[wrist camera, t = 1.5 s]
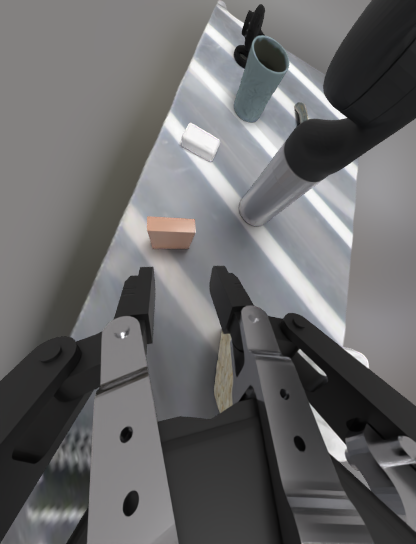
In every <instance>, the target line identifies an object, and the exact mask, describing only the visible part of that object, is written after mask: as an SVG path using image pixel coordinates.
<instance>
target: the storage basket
mask: <svg viewBox="0 0 416 544" xmlns="http://www.w3.org/2000/svg"><path fill="white" fill-rule="evenodd" d="M230 341H231V335H230V334H223V330H222V332H221V340H220V345H219V352H218V361H217V366H216V376H215V385H214V396H215V398H216V401H217V405H218V409H219V411H220V413H221V412H223V411H224V410H226V409H227V408H229V407H230V406H232V405H233V403H232V387H233V371H232V360H231V349H230ZM342 348H343V349H344V350H346V351H347V352H348V353H349V354H351V355H352V356H353V357H354V358H356V359H357V360H358V361H360V362H361V363H362V364H363V365H365V366H366V367H367V368H368V369H369V363H368V360H367V359H366V357H365V356H364V355H363V354H361V353H360V352H358V351H355V350H353V349H350V348H345V347H342ZM298 353H299V354H300V355H301V356H302V357H303V358H304V359H305V360H306V361H307V362H308V363H309V364H310V365H311V366H312V367H313V368H314V369H315V370H317V371H318V372H319V373H320V374H322V375H324V376H326V374H325V373H324V372H323V371H322V370H321V369H320V368H319V367H318V366H317V365H316V364H315V363H314V362H313V361H312V360H311V359H310V358H309V357H308V356H307V355H306V354H305V353H303V352H302V351H301V350H300V349H299V351H298ZM309 404H310V403H309ZM310 407H311V409H312V412H313V414H314V417H315V419H316V422H317V424H318V427H319V430H320V432H321V435H322V437H323V440H324V442H325V445H326V447H327V450H328V452H329V453H330V454H331V455H332V456H333V457H334V458H335V459H336V460H338V461H339V462H340V461H341V462H342V461H347V460H346V457H345V449H347V447H346V445H345V443H344V442H343V441H342V440H341V439H340V438H339V437H338V435H337V434H336V433H335V432H334V431H333V430H332V429H331V427H330V426H329V425H328V424H327V423H326V422H325V421H324V419H323V418H322V417H321V416H320V415H319V414H318V413H317V411H316V410H315V409H314V408H313V407H312V406H311V405H310Z"/></svg>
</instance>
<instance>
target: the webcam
mask: <svg viewBox="0 0 416 544" xmlns="http://www.w3.org/2000/svg"><path fill="white" fill-rule="evenodd" d="M264 13H265V8H264V6H263V5H262V4H260V5H259V6H258V7H257V8H256V10H255V12H251V11H250V10H249V12H248V14H247V17H246V20H245V22H244V26H243V29H242V35H243V36H245V46H244V45H239V46H237V47H236V49H235V52H234V56H235V59H236V61H237V62H238V64H239V65H240V66H242V67H244V68H245V67H246V63H247V61H246V60H244V59H243V58H242V57H241V56H240V55H239V54H243V55H245V56H246V57H247V58H248V55H249V52H250V49H251V45H252V42H253V40H254V39H255V38H256V37H257V36H265V35H264V34H263V32H262V31H261V27H262V23H263V19H264Z"/></svg>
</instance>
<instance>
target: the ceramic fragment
mask: <svg viewBox="0 0 416 544" xmlns="http://www.w3.org/2000/svg"><path fill="white" fill-rule="evenodd" d="M294 108H295V110H296V111H297V112H298V114H299V118H300V124H301V123H302V122H304V121H306V120H308V115H307V109H306V107H305V105H304V104H303V103H297V104H296V105H295V106H294Z"/></svg>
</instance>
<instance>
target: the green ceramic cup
mask: <svg viewBox="0 0 416 544" xmlns="http://www.w3.org/2000/svg"><path fill="white" fill-rule="evenodd" d="M288 68H289V58H288V55H287V53H286V51H285V50H284V48H283V47H282V46H281V45H280V44H279V43H278V42H277V41H275V40H274V39H272V38H270V37H268V36H257V37H256V38H255V39H254V40H253V42H252V45H251V49H250V52H249V55H248V59H247V63H246V67H245V70H244V73H243V77H242V79H241V84H240V87H239V90H238V93H237V96H236V99H235V102H234V109H235V112H236V113H237V115H238V116H239V117H240V118H241V119H243V120H244V121H247V122H255V121H256V120H257V119H258V118H259V117H260V115H261V113H262V112H263V110H264V108H265V106H266V104H267V103H268V101H269V100H270V98H271V96H272V94H273V93H274V92H275V90H276V88H277V86H278V85H279V83H280V82H281V80H282V78H283V77H284V75H285V74H286V72H287V70H288Z"/></svg>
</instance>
